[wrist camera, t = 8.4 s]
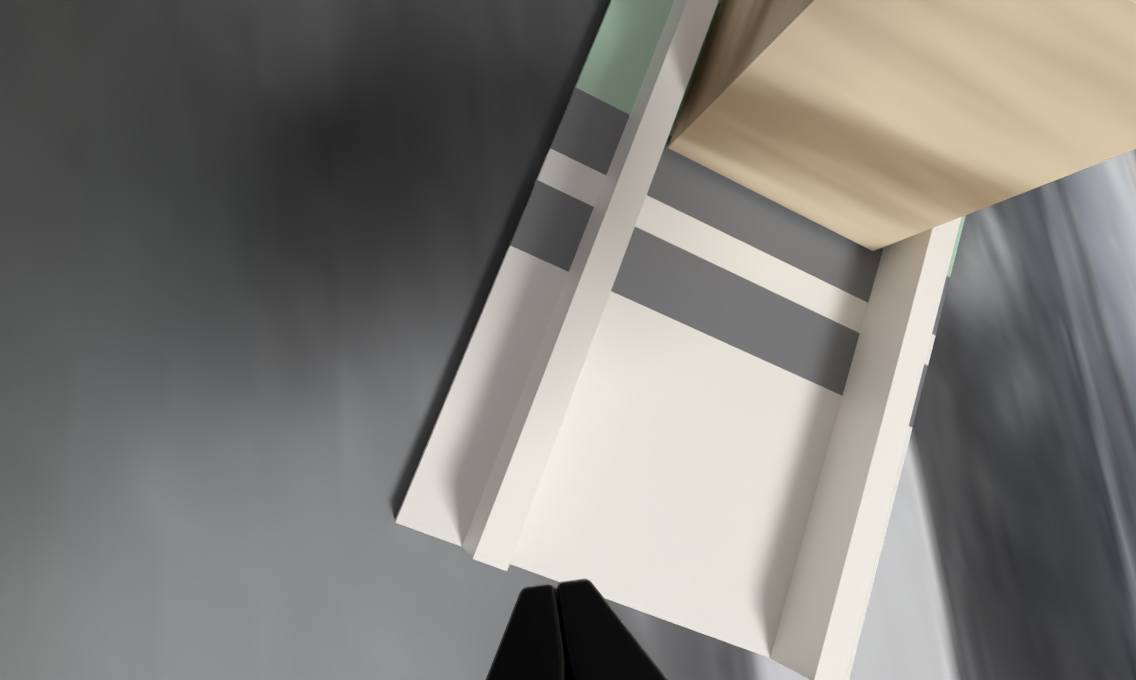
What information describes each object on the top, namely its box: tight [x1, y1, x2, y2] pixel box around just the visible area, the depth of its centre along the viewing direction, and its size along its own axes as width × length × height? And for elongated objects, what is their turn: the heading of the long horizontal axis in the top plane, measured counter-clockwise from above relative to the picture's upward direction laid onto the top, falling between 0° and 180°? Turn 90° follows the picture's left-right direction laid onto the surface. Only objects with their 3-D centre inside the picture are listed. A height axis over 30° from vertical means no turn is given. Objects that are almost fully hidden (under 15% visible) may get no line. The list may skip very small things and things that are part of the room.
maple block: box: [668, 0, 1136, 251], centre depth 17 cm, size 5×7×10 cm
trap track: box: [395, 0, 966, 680], centre depth 20 cm, size 18×13×2 cm
